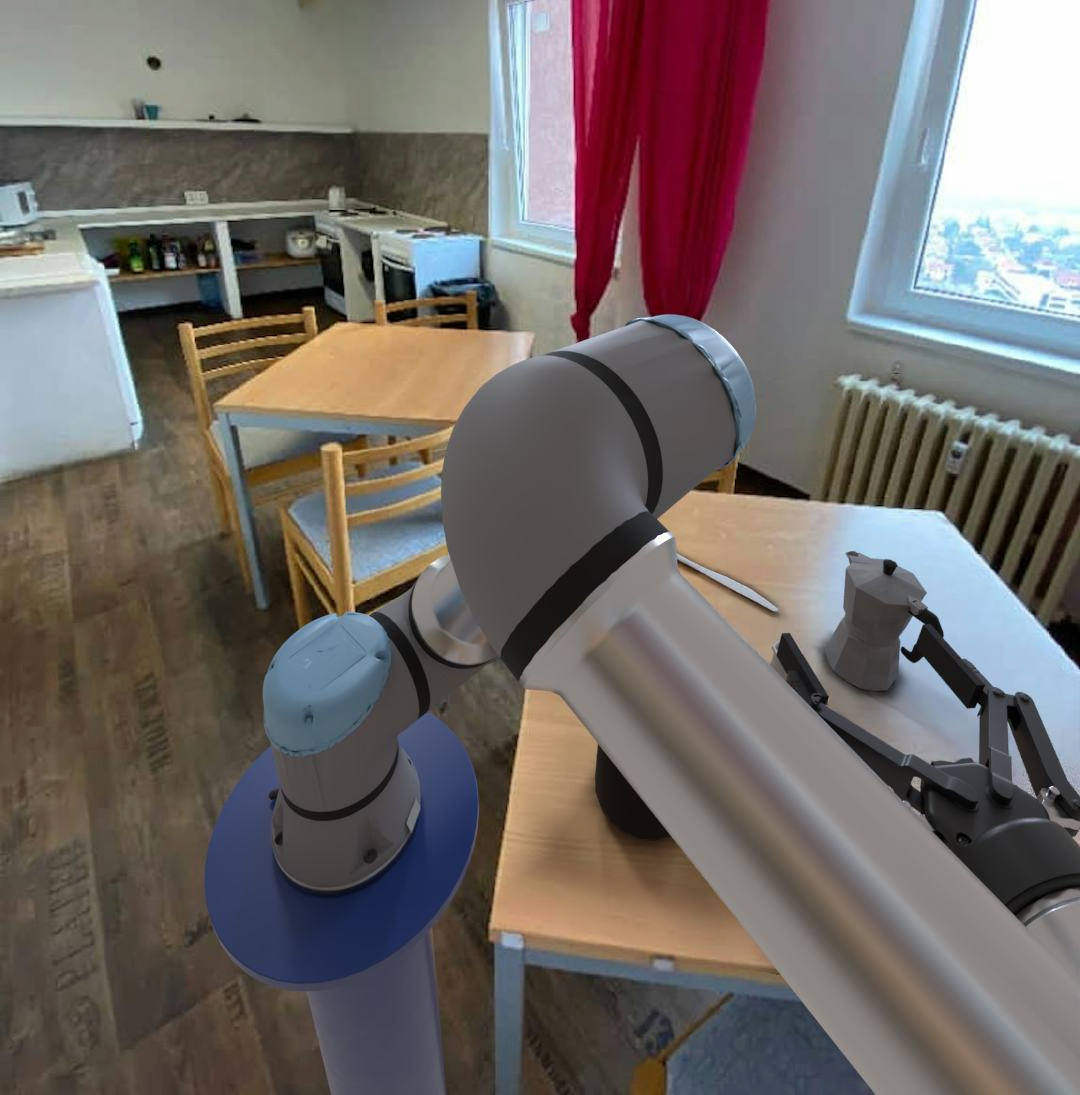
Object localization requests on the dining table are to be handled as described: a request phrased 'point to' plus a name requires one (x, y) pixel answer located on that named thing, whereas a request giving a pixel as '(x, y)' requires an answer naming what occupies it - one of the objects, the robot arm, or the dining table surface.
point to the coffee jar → (624, 802)
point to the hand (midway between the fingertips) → (853, 639)
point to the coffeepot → (876, 622)
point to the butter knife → (730, 583)
